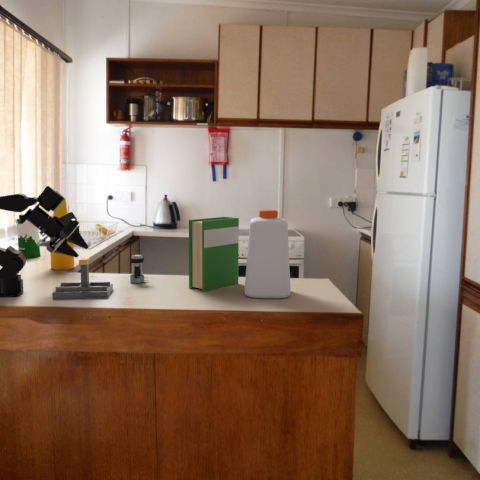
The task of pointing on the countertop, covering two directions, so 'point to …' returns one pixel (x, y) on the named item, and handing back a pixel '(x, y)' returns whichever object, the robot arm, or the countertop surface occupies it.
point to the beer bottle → (60, 259)
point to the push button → (137, 269)
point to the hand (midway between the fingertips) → (82, 252)
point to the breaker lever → (84, 271)
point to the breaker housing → (82, 290)
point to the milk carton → (28, 239)
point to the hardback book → (213, 252)
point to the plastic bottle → (268, 257)
